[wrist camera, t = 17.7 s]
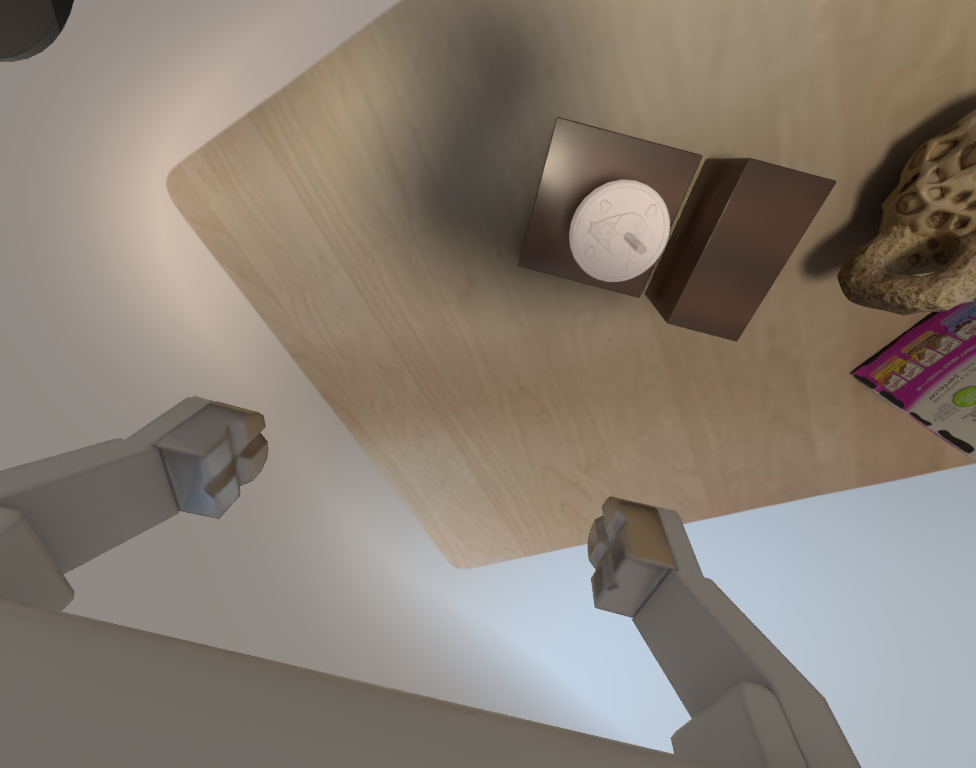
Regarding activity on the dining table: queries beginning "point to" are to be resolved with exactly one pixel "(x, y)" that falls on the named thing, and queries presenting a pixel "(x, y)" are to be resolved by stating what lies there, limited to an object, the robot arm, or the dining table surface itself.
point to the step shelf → (679, 223)
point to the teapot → (923, 232)
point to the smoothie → (619, 230)
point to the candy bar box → (932, 375)
